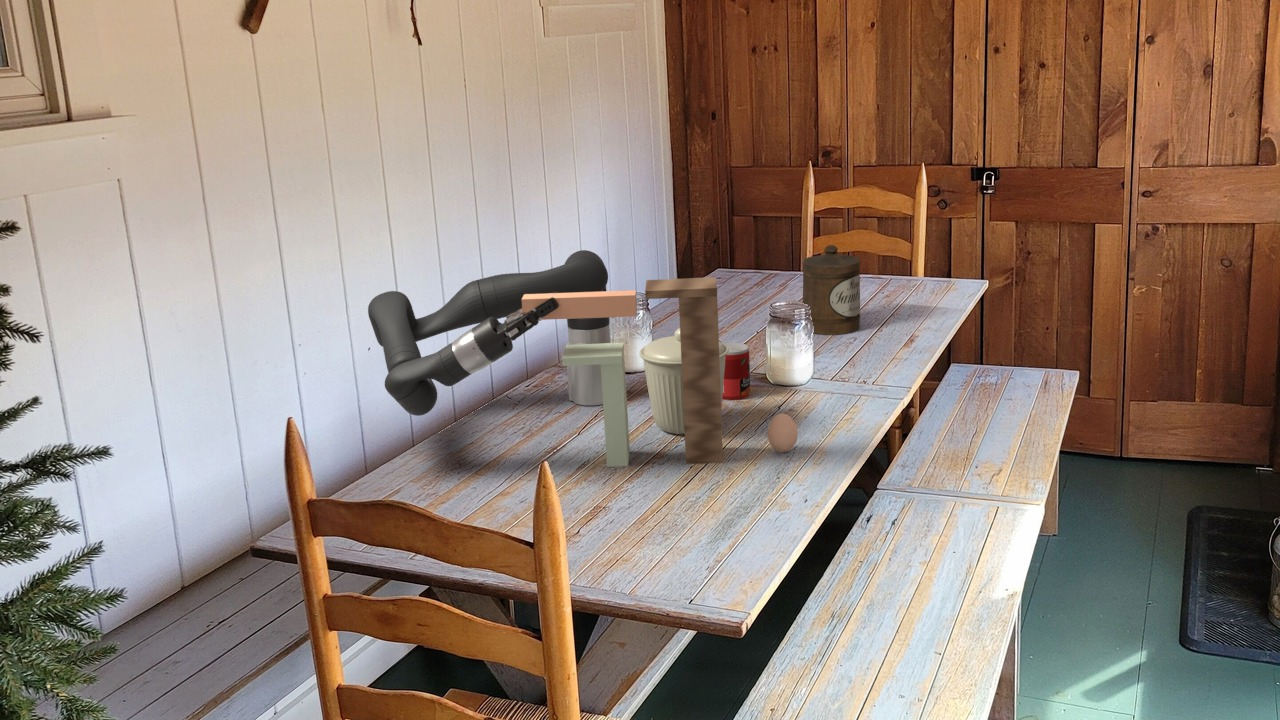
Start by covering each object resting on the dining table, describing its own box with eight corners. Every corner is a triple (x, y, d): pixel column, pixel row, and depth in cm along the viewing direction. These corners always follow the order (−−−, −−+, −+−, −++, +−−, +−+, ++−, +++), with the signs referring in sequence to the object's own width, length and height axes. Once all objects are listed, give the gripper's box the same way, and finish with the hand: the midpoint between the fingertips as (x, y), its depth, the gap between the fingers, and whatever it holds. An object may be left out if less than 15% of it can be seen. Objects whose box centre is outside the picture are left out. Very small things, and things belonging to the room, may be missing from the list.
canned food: (748, 400, 262) (747, 352, 259) (712, 400, 264) (710, 352, 261) (752, 389, 269) (751, 342, 266) (716, 389, 271) (715, 342, 268)
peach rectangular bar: (523, 320, 223) (521, 299, 222) (525, 314, 227) (524, 294, 226) (636, 316, 222) (635, 295, 221) (637, 311, 226) (636, 290, 225)
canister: (670, 448, 237) (665, 345, 231) (628, 423, 252) (622, 326, 246) (748, 429, 244) (745, 329, 239) (702, 406, 260) (698, 312, 254)
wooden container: (846, 337, 306) (846, 252, 300) (793, 332, 314) (792, 249, 308) (869, 323, 318) (869, 241, 312) (817, 318, 326) (816, 238, 320)
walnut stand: (654, 466, 228) (645, 291, 218) (655, 449, 236) (646, 280, 227) (723, 463, 227) (717, 287, 218) (721, 446, 236) (715, 277, 226)
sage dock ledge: (570, 469, 229) (562, 358, 222) (574, 452, 237) (566, 344, 231) (628, 467, 228) (621, 355, 222) (629, 450, 237) (623, 342, 230)
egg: (797, 457, 229) (796, 419, 226) (766, 456, 230) (766, 418, 227) (798, 446, 234) (798, 409, 232) (768, 445, 235) (768, 409, 233)
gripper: (464, 339, 219) (542, 290, 216) (476, 319, 233) (550, 273, 230) (487, 373, 221) (565, 325, 218) (498, 351, 234) (572, 306, 231)
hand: (557, 298), depth 224 cm, fingers closed on peach rectangular bar, 4 cm apart
